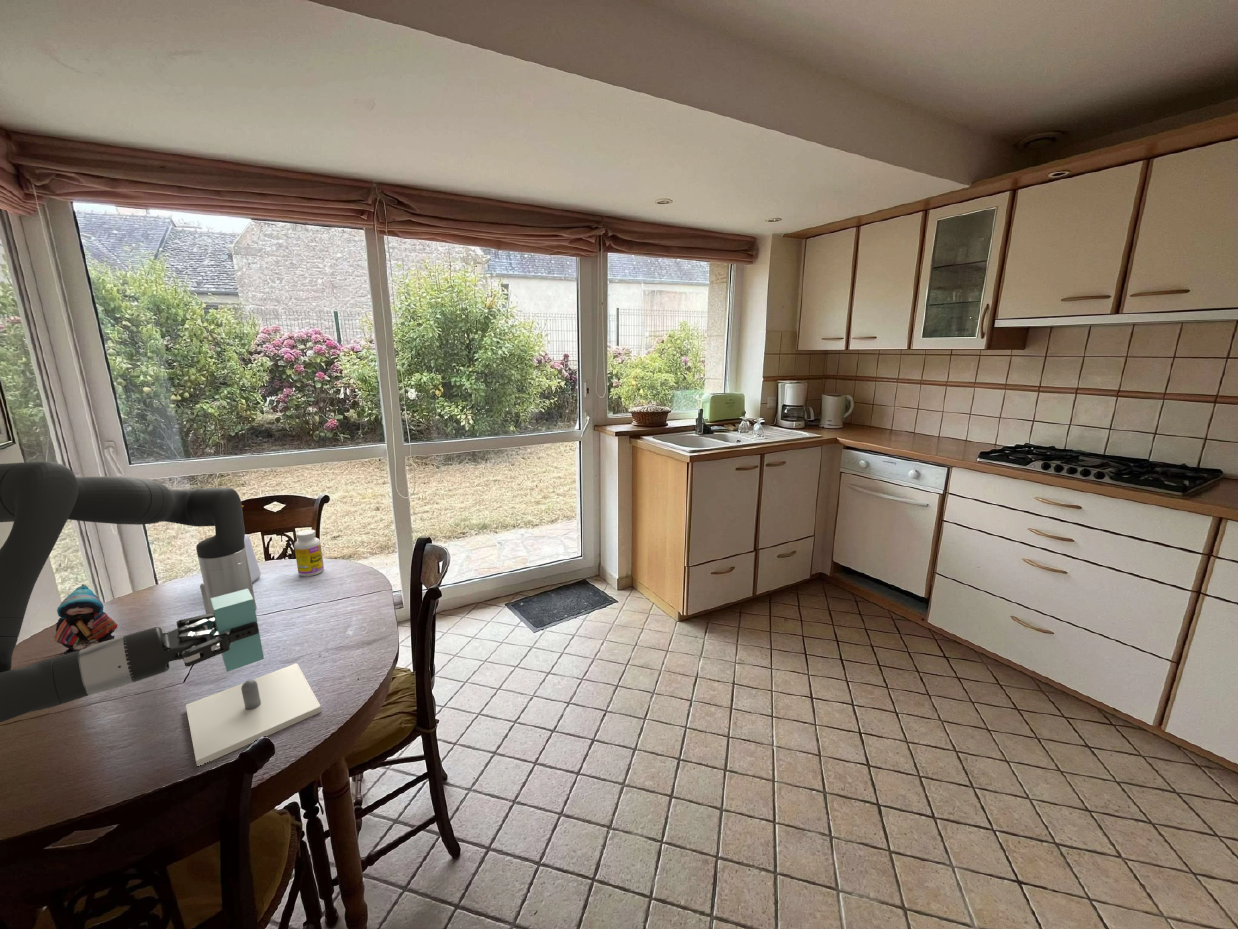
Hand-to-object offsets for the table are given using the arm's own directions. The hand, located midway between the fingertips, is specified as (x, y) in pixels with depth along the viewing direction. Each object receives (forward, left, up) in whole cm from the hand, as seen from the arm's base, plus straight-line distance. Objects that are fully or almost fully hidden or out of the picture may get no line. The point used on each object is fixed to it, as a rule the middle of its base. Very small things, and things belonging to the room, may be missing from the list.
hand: (254, 620), depth 90 cm
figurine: (-53, +17, -18) cm, 58 cm away
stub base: (-2, -2, -18) cm, 18 cm away
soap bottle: (-44, +50, -18) cm, 69 cm away
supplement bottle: (-27, +56, -18) cm, 65 cm away
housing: (-2, -2, -7) cm, 7 cm away
